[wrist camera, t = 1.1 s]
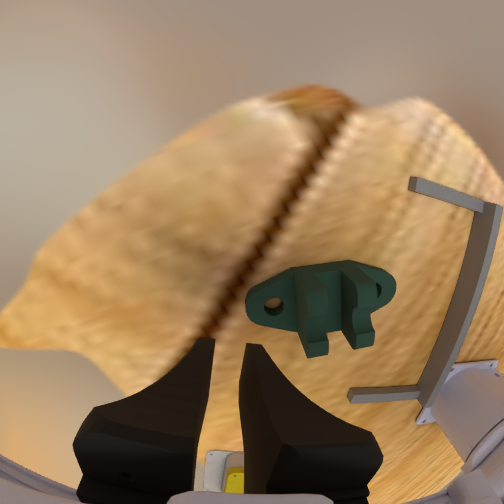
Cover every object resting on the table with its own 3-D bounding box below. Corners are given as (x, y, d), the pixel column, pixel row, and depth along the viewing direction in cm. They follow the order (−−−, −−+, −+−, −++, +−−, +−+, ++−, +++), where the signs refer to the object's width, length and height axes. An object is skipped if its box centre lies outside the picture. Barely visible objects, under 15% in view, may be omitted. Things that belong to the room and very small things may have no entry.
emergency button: (330, 514, 25) (201, 515, 24) (324, 488, 29) (203, 487, 28) (359, 475, 23) (203, 478, 22) (348, 446, 27) (206, 444, 26)
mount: (389, 253, 21) (425, 274, 16) (387, 308, 22) (418, 338, 18) (241, 273, 21) (243, 303, 16) (249, 330, 22) (252, 370, 17)
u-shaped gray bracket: (484, 202, 20) (503, 206, 18) (420, 392, 25) (431, 406, 23) (410, 176, 20) (429, 178, 17) (347, 396, 24) (355, 414, 22)
